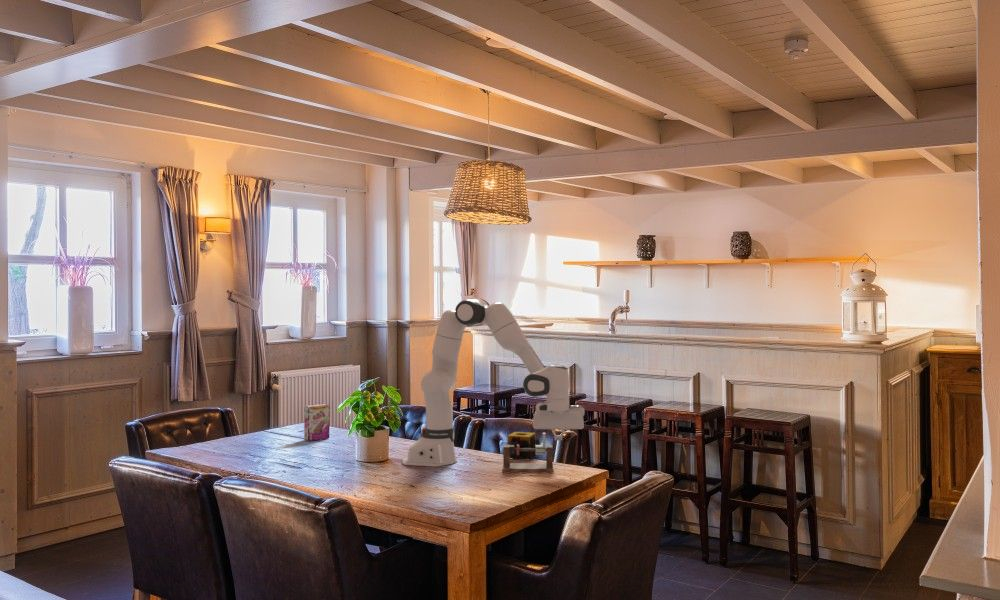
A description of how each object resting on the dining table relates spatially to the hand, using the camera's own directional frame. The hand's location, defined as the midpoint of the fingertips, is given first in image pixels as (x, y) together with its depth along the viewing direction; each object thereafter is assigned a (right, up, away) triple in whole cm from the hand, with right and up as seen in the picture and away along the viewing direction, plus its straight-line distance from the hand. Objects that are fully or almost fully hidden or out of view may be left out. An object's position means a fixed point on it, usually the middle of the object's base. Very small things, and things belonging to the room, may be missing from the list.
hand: (558, 440), depth 316 cm
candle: (-14, -12, +24) cm, 30 cm away
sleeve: (-7, -6, +1) cm, 9 cm away
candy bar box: (-111, -11, +65) cm, 129 cm away
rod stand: (-12, -12, +1) cm, 17 cm away
